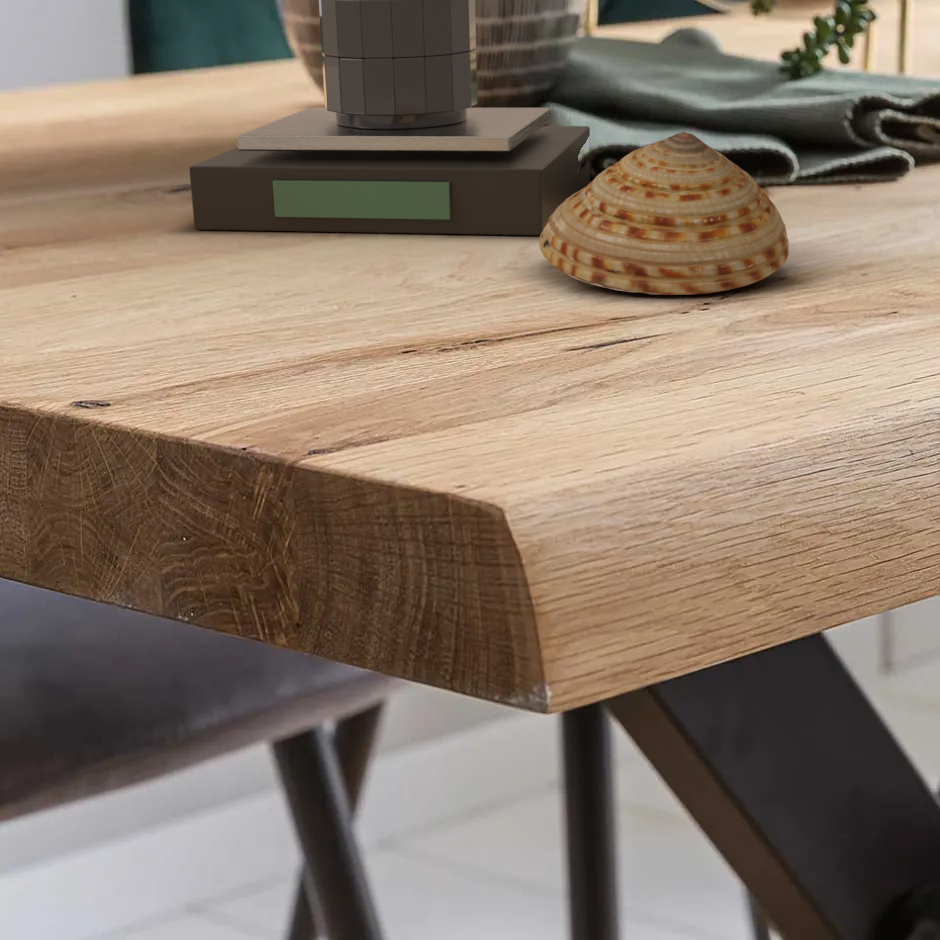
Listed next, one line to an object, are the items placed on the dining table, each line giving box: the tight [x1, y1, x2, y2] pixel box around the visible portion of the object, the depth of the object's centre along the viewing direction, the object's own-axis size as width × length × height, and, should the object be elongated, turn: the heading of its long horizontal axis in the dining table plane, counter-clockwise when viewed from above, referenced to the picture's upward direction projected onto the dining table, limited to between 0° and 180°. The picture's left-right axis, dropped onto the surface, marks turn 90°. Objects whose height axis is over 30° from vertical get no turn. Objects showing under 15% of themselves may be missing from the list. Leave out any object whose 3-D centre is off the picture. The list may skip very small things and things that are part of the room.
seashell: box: [538, 131, 790, 296], centre depth 53 cm, size 8×6×8 cm
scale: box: [188, 125, 591, 236], centre depth 66 cm, size 14×12×2 cm
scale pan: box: [236, 107, 551, 152], centre depth 65 cm, size 11×9×1 cm
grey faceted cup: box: [318, 0, 478, 130], centre depth 64 cm, size 6×6×5 cm
